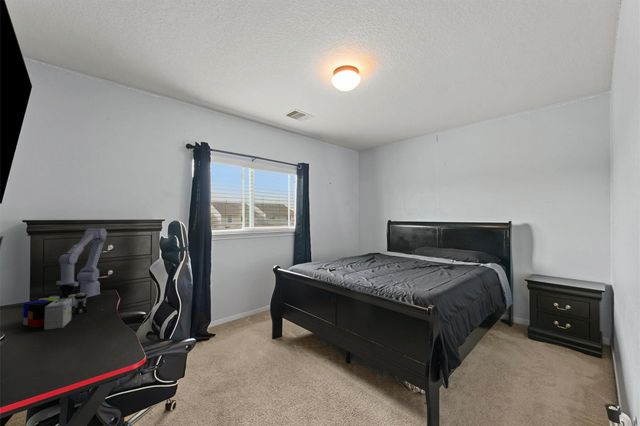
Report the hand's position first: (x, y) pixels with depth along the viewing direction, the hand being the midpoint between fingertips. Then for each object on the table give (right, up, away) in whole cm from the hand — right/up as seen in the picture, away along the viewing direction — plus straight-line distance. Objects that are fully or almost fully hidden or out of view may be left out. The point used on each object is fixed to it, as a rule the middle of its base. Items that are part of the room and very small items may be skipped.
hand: (67, 297), depth 159 cm
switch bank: (0, -3, -5) cm, 6 cm away
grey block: (+5, -2, -1) cm, 5 cm away
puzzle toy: (+16, -3, -29) cm, 33 cm away
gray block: (-3, -2, -5) cm, 6 cm away
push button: (+21, -3, -16) cm, 26 cm away
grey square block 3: (-4, -2, -9) cm, 10 cm away
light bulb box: (+26, -3, -32) cm, 42 cm away
